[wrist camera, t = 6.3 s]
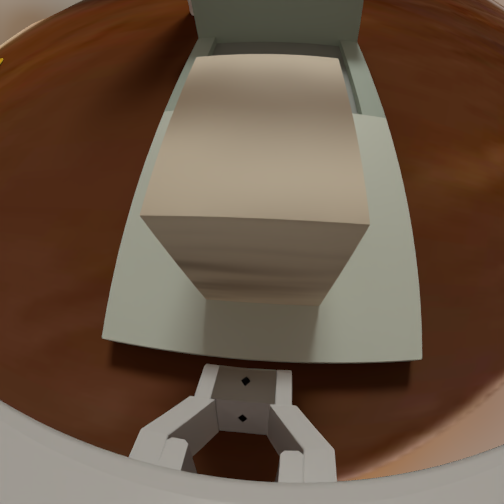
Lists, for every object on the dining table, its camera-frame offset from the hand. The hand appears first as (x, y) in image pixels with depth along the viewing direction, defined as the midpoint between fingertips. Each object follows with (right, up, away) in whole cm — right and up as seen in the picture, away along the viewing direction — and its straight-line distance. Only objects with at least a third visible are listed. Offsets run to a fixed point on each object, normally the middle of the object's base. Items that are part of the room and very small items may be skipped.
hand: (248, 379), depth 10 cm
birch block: (+1, +5, +7) cm, 9 cm away
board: (+2, +14, +12) cm, 19 cm away
